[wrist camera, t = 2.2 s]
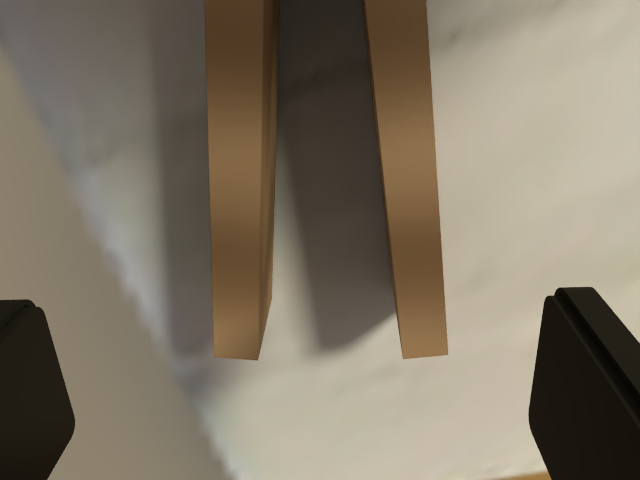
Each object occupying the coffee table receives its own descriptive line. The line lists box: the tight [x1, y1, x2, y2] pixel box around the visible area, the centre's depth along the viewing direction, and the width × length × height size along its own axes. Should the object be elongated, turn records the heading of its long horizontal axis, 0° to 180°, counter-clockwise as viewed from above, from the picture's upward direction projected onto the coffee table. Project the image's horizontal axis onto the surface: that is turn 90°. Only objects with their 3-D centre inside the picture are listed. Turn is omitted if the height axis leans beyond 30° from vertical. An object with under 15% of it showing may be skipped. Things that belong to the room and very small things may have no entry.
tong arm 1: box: [205, 0, 280, 360], centre depth 17 cm, size 20×2×4 cm, turn 176°
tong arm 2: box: [362, 0, 448, 359], centre depth 16 cm, size 20×2×4 cm, turn 8°
